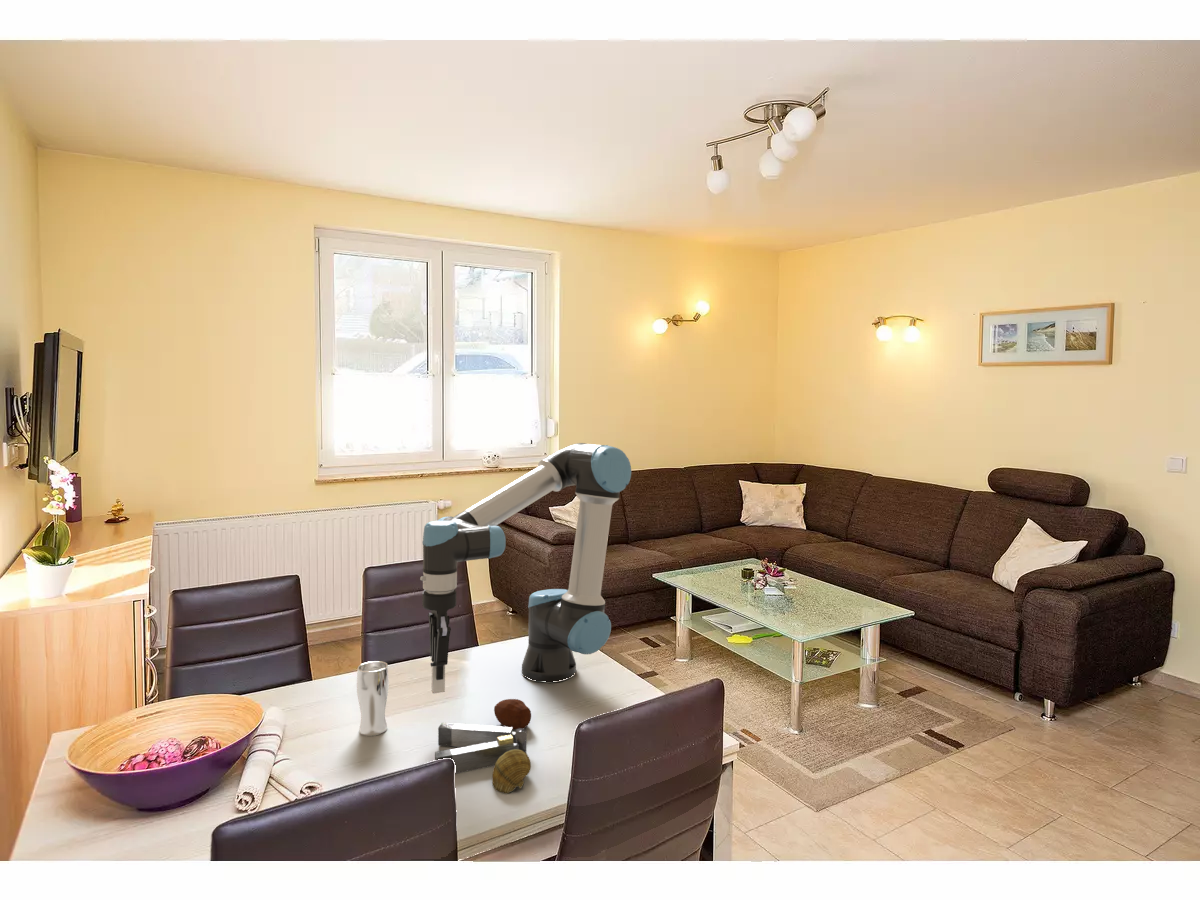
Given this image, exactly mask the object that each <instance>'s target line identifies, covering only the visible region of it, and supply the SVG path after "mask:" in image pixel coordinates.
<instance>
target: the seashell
mask: <svg viewBox="0 0 1200 900" xmlns="http://www.w3.org/2000/svg"><path fill="white" fill-rule="evenodd" d="M531 765H532V764H531V759H530V756H529V755H528V753H527V752H526V753H525V752H523V751H522V750H518V749H514V750H510V751H507V752H505V753H504V754H503V755H502V756H501V757H500V758H499V759H498V760H497V762H496V764H495V766H493V770H492V776H491V781H492V782H491V783H492V786H493V788H494V790H495V791H496V792H499V793H501V794H504V795H505V794H506V795H508V794H510V793H511V792H513V791H515V789H516V788H518V789H520V790H521V789H522V787H523V786H524V783H525V780H524V779H525V778H526V777H527V776H528V775H529V774H530V771H531V767H532V766H531Z"/></svg>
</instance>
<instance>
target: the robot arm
mask: <svg viewBox="0 0 1200 900" xmlns="http://www.w3.org/2000/svg"><path fill="white" fill-rule="evenodd" d="M631 478H632V466H631V462H630V459H629V457H628V456H627V455H626V453H625V452H624V451H623V450H622V449H620V448H618V447H615V446H611V445H609V444H606V445H605V444H595V443H594V444H593V443H585V442H577V443H572V444H569V445H568V446H566V447H563V448H561V449H559V450H557V451H555V452H554V453H552V454H550V455H548V456H546V457H545V458H543V459H542V460H540V461H539V462H538V464H537V467H535V468H534V469H532V470H530V471H529V472H526V473H525V474H524V475H522V476H520V477H518V478H517V479H515V480H514V481H511V482H510V483H508V484H506V485H505V486H503V487H502V488H500V489H498V490H497V491H494V493H492V494H490V495H488V496H487V497H485V498H483V499H481V500H480V501H478V502H477V503H475V504H473V505H471V506H470V507H468V508H466V509H465V510H463V511H462V512H459V513H458V514H456V515H454V516H443V517H441V518H439V519H437V520H433V521H428V522H427V523H426V524H425V525H424V528H423V535H422V574H423V576H420V579H419V580H420V581H421V582H422V589H423V591H422V596H421V597H422V600H421V601H422V602H421V604H422V608H423V609H425V610H428V611H430V612H428V615H427V617H428V626H429V628H428V629H429V630H428V631H429V633H428V634H429V657H430V658H431V659H430V660H431V662H430V667H431V692H432V694H437V693H440V694H441V693H444V692H446V665H448V662H449V661H448V660H449V647H450V635H451V631H452V629H451V626H449V625H450V619H451V618H450V615H448V611H449V610H452V609H454V608H456V606H457V590H456V589H457V588H458V587H457V586H458V585H457V584H458V562H466V561H477V560H486V559H488V560H489V559H492V558H497V557H500V556H502V554H503V553H504V551H505V550H506V543H507V541H506V534H505V533H504V530H503V528H502V527H501V526H499V524H501V523H503V522H504V521H505V520H507V519H509V518H511V517H512V516H514V515H516V514H517V513H518V512H520V511H522V510H523V509H525V508H527V507H528V506H530V505H531V504H533V503H535V502H536V501H538V500H540V499H541V498H542V497H544V496H546V495H548V494H549V493H551V492H552V491H553V492H560V491H562V490H563V489H565V488H566V487H572V486H573V487H574V486H575V493H574V494H575V495H576V496H577V498H578V499H579V505H578V506H579V507H578V514H577V520H576V521H577V522H576V528H575V529H576V530H575V536H574V545H573V551H572V552H573V553H572V558H571V559H572V560H571V566H570V567H571V568H570V574H569V581H568V588H567V589H565V588H550V589H543V590H537V591H535V592H533V593H531V594H530V595H529V596H528V597H529V598H528V606H527V607H528V645H527V649H526V651H525V655H524V657H523V660H522V663H521V675H522V674H523V675H524V676H526V677H528V678H530V679H532V680H536V681H546V682H553V681H559V680H563V679H566V678H569V677H571V676H572V675H574V673H575V672H576V673H577V662H576V659H575V656H574V653H580V654H582V655H592V654H595V653H597V652H598V651H599V650H601V648H602V647H604V646H605V644H606V643H607V641H608V640H609V638H610V635H611V632H612V631H611V630H612V622H611V620H610V619H609V615H607V614H606V613H605V608H606V600H605V599H604V598H603V596H602V585H603V579H604V572H605V564H606V563H605V561H606V555H607V547H608V539H609V532H610V525H611V518H612V517H611V516H612V510H613V505H614V504H615V502H617V501H619V500H620V492H622V491H624V490H625V489H626V487H627V486H628V485H629V484H630V480H631ZM573 652H574V653H573ZM523 675H522V676H523ZM524 676H523V677H524ZM574 676H575V675H574ZM532 680H531V681H532ZM536 681H535V682H536ZM553 683H554V682H553Z"/></svg>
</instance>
